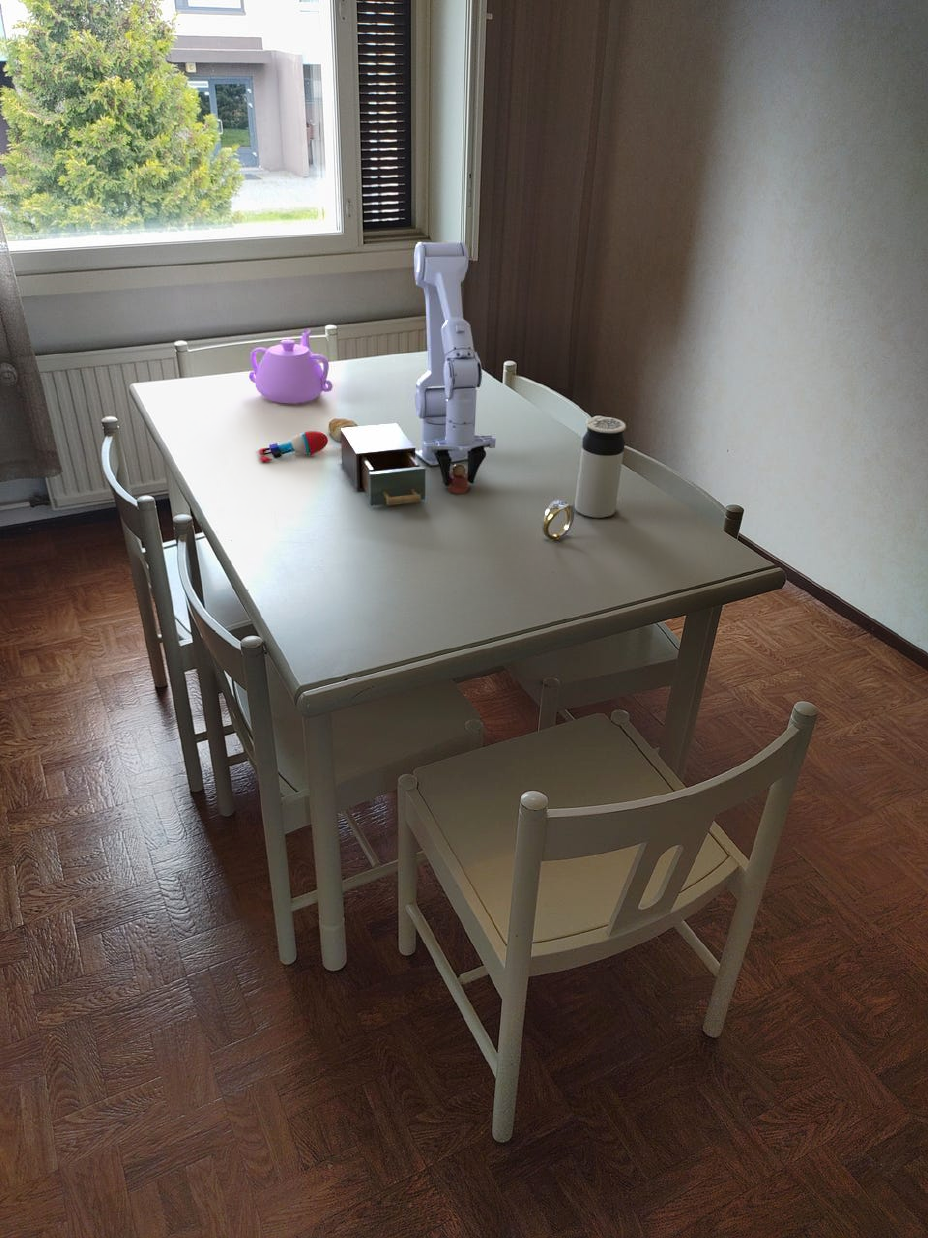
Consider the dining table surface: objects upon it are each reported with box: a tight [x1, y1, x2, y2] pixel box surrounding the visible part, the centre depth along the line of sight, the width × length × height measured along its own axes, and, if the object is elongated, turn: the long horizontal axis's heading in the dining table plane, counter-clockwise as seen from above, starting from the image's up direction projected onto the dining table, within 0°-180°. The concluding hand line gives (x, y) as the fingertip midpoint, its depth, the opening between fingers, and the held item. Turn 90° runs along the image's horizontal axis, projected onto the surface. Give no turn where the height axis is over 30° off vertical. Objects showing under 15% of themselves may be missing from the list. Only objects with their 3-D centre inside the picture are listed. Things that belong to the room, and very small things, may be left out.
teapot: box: [248, 328, 334, 404], centre depth 226 cm, size 22×22×14 cm
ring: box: [541, 498, 575, 541], centre depth 167 cm, size 7×3×8 cm, turn 124°
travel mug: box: [574, 416, 627, 519], centre depth 175 cm, size 8×8×18 cm
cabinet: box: [340, 423, 416, 492], centre depth 188 cm, size 14×12×8 cm
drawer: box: [359, 451, 426, 507], centre depth 179 cm, size 17×11×7 cm, turn 19°
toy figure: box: [258, 430, 329, 463], centre depth 196 cm, size 8×5×15 cm
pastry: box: [328, 418, 360, 443], centre depth 207 cm, size 9×7×4 cm
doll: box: [447, 462, 469, 494], centre depth 184 cm, size 4×4×6 cm
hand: (458, 482), depth 185 cm, fingers open, 5 cm apart
